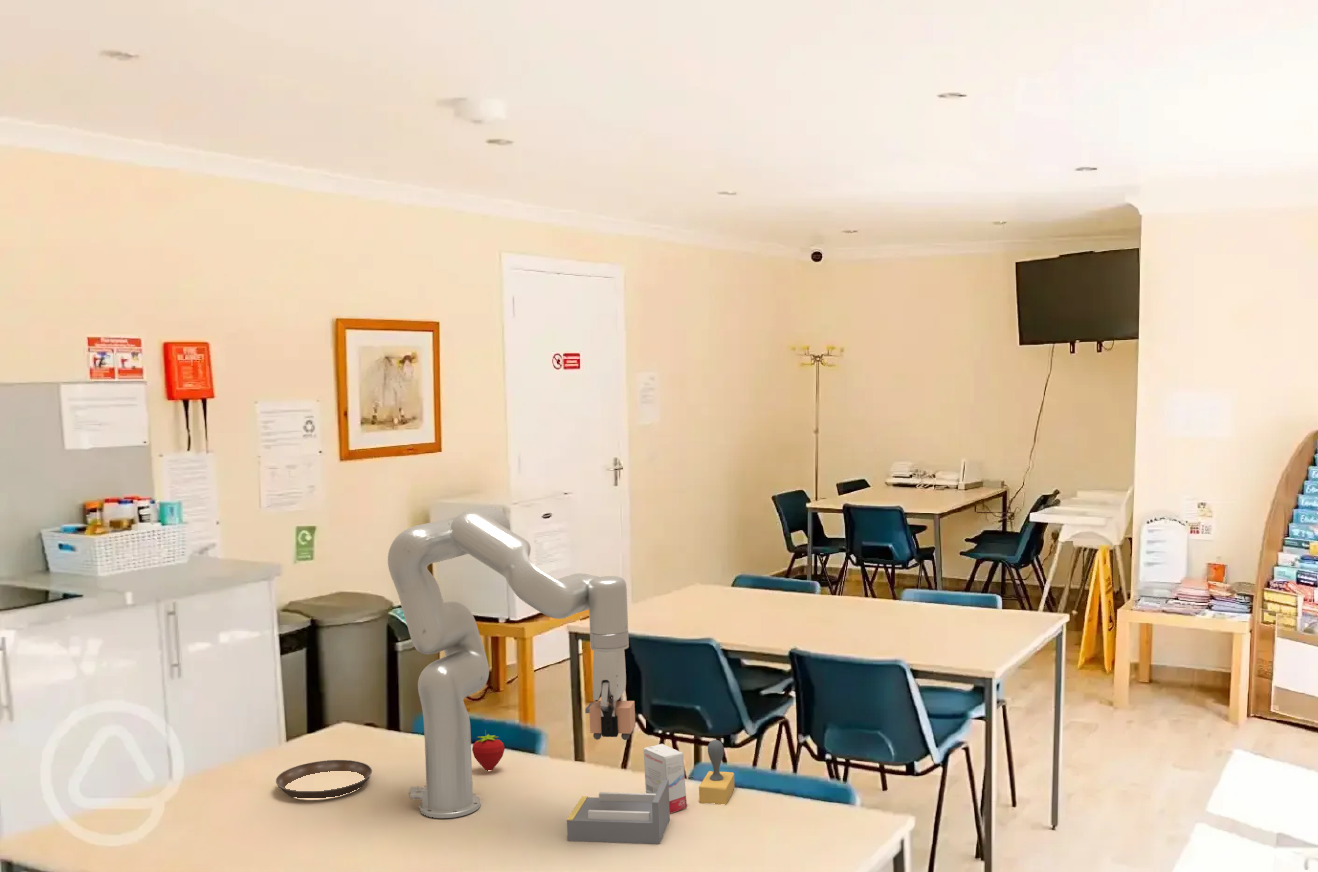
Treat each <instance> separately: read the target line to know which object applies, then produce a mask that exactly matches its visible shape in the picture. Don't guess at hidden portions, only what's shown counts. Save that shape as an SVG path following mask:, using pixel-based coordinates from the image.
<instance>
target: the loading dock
mask: <svg viewBox="0 0 1318 872" xmlns="http://www.w3.org/2000/svg"><path fill="white" fill-rule="evenodd" d="M670 814H671V813H670V810H669V780H662V782H661V784H660V787H659V789H658V791H657V793H656V794H649V793H646V792H645V793H643V792H610V791H608V792H607V791H602V792H601V791H599V793H598V797H593V796H592V797H589V796H587V795H586V796H585V795H582V796H581V797H580V799H579V800H578V802H577V803H576V804H575V806H574V807H573V808H572V811H571V812H570V814H569V816H568V817H567V818H566V829H567V830H566V833H567V834H566V835H567V842H590V843H591V842H592V843H616V844H619V843H622V844H648V845H650V844H651V845H660V844H661V841H662V838H663V837H664V834H665V831H666V829H667V827H668V825H669V822H670V819H671V817H670V816H671V815H670Z"/></svg>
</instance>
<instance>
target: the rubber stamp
mask: <svg viewBox="0 0 1318 872" xmlns="http://www.w3.org/2000/svg"><path fill="white" fill-rule="evenodd" d="M724 751H725V749H724V745H723V742H721V740H718V739H712V740H711V741H710V742H709V743H708V746H707V755H708V758H709V760H710V762H711V764H712V765H711V766H712V769H713V771H711V770H709V771H708V772H707V773H706V775H705V776H704V778H703V779H702V781H701V782H700V784H699V787H698V795H699V798H698V801H699V804H704V803H715V804H714V805H721V804H725V805H726V804H727V803H728V801H729V800H730V797H731V795H732V794H733V792H734V790H735V773H734V772H732V771H731V772H730V771H720V766H721V764H722V760H723V757H724V753H725V752H724ZM733 789H734V790H733Z"/></svg>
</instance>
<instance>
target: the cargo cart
mask: <svg viewBox="0 0 1318 872" xmlns="http://www.w3.org/2000/svg"><path fill="white" fill-rule="evenodd" d="M609 705H611V707H612V703H609ZM635 705H636V704H635V700H623V701H616V716H618V734H621V739H622V740H623V741H627V740H629V739H630V737H631V736H630V735H632V734H633V732H634V729H635V727H636V711H635V710H636V708H635ZM584 711H585V714H589V731H590V734H593V735H592V736H593V739H595V740H597V741H598V740H600V739H602V733H601V700H598V701H597V702H595V701H594V700H593V701H592V702H589V704H587V706H586V707H585V710H584Z"/></svg>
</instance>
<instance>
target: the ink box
mask: <svg viewBox="0 0 1318 872" xmlns="http://www.w3.org/2000/svg"><path fill="white" fill-rule="evenodd" d="M643 761H644V762H643V764H644V782H645V783H644V784H645V793H649V794H656V793H657V791H658V789H659V787H660V784H661V782H662V780H669V810H670V814H672V813H676V812H678V811H682V810H684V809H687V808H688V806H687V793H686V776H685V774H686V773H685V761H684V752H682V751H680V750H677V749H674V748H673V747H670V746H668V745H666V744H663V743H659V744H655V745H651V746H647V747H644V748H643Z"/></svg>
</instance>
